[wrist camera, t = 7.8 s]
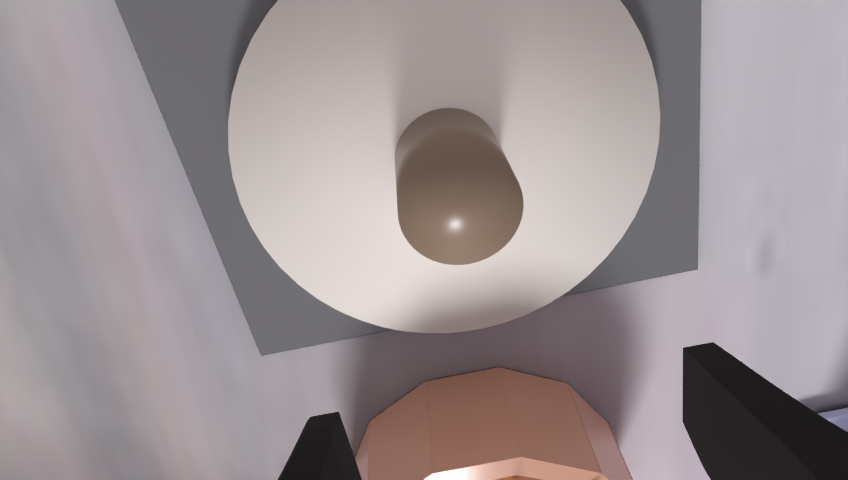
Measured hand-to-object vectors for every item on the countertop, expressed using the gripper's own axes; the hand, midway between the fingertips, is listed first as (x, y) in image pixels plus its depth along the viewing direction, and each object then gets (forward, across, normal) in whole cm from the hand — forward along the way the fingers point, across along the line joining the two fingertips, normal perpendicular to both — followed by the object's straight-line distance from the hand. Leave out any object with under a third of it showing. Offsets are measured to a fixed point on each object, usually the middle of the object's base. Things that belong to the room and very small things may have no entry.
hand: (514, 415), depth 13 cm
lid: (+9, 0, -3) cm, 9 cm away
